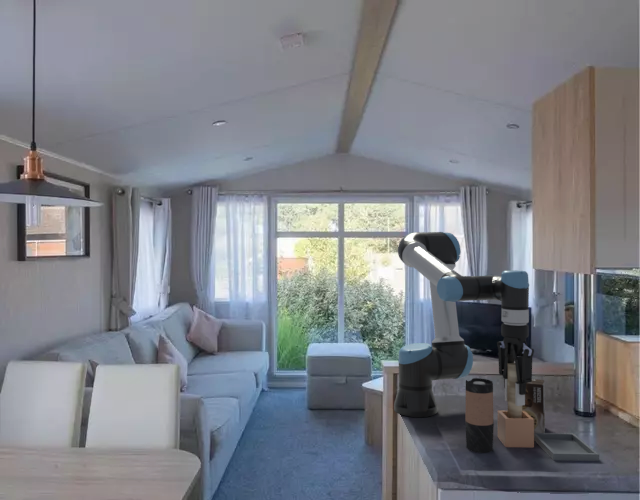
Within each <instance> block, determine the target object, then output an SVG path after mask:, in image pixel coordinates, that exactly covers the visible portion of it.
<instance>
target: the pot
mask: <svg viewBox="0 0 640 500" xmlns="http://www.w3.org/2000/svg"><path fill="white" fill-rule="evenodd" d="M534 433H535V432H534V419H533V418H532V417H531V416H530V415H529V414H528V413H527V412H525V411H522V418H508V410H501V409H500V410H499V409H498V410H497V438H498V440H499V441H500V442H501V443H502V445H503V446H504V447H505V448H535V441H534Z"/></svg>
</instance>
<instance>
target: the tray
mask: <svg viewBox="0 0 640 500" xmlns="http://www.w3.org/2000/svg"><path fill="white" fill-rule="evenodd" d="M534 443H536V444H537V445H538V446H539V447H540V448H541V449H542V450H543V451H544V452H545V453H546V454H547V455H548V456H549V457H550V459H552V460H553V461H574V462H575V461H578V462H579V461H583V462H599V461H600V453H598V452H597V451H596V450H595V449H593V448H592V447H591V446H590V445H588V443H586V442H585V441H584V440H582V439H581V438H580V437H579V436H578V435H576V434H575V433H573V432H568V433H567V432H565V433H564V432H562V433H561V432H545V433H535V432H534Z"/></svg>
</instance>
